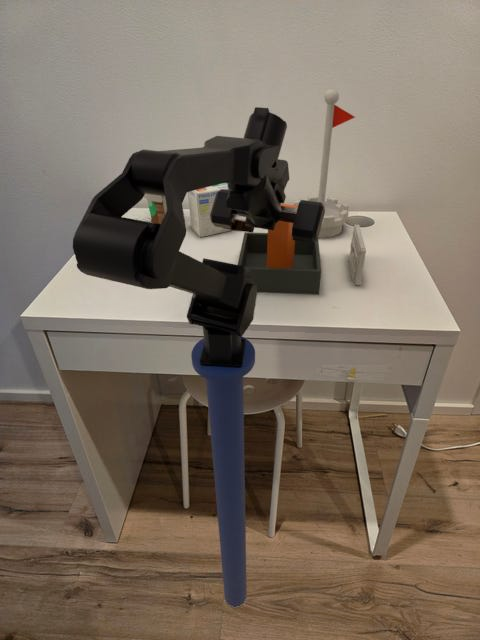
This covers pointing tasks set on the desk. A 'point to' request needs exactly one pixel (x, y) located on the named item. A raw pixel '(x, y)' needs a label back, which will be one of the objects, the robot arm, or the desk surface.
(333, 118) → the flag stand
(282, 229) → the block
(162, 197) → the food container
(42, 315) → the desk surface
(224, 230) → the light bulb box
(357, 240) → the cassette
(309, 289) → the open storage bin
